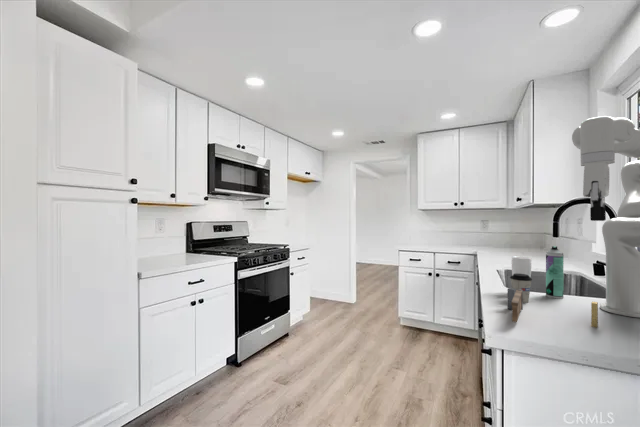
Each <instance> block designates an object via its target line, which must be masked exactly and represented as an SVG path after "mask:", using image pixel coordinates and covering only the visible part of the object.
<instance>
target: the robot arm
mask: <svg viewBox="0 0 640 427" xmlns="http://www.w3.org/2000/svg"><path fill="white" fill-rule="evenodd" d="M571 141H572V143H573V145H574V146H575V147H576V148H577V149H578V150H580V151H579V152H580V166H581V167H584V168H583V180H582V182H583V185H582V197H584V198H589V199H590V210H589V212H590V214H589V216H590V218H589V219H590V221H592V222H593V221H595V222H600V221H601V222H603V224H602V227H601V230H602V231H601V232H602V238H603V241H604V242H603V243H604V247H605V302H603V303H602V302H601V303H600V304H599V308H600V309H601V310H602V311H605V312H608V313H611V314H614V315H618V316H623V317H624V316H625V317H631V318H632V317H633V318H640V251H639V250H638V249H637V248H640V129H638V128H636V125H635V123H634V122H633V121H632V120H630V119H628V118H626V117H612V116H607V115H604V116H603V115H602V116H595V117H591V118H587V119H585V120H583V121H582V122H581V123H580V126H578V127H576V128H575V129H574V130H573V133H572V135H571ZM616 154H620V155H622V156H624V157H627V158H631V159H638V160H634V161H630V162H628V163H626V164H624V165H623V166H622V167H621V170H620V177H621V178H620V179H621V184H622V188H623V190H624V193H625V195H624V197H623V200H622V202H621V204H620V205H619V207H618V210H617V217H613V218H610V219H608V220H606V218H607V216H606V214H607V213H606V211H607V210H606V206H605V205H606V197H608V196H609V195H610V194H609V193H610V164H615V163H616V160H615V159H616V156H615V155H616ZM604 221H605V222H604Z"/></svg>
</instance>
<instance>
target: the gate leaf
mask: <svg viewBox="0 0 640 427" xmlns="http://www.w3.org/2000/svg"><path fill="white" fill-rule="evenodd" d="M523 304H524V303H523V290H521V289H516V292H515V295H514V297H513V300H512V302H511V305H512V310H511V311H512V312H511V321H512V322H514V323H518V322H519V316H520V314H521V311H522V310H524V309H523V308H524V307H523Z"/></svg>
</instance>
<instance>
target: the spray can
mask: <svg viewBox="0 0 640 427" xmlns="http://www.w3.org/2000/svg"><path fill="white" fill-rule="evenodd" d="M545 297H548V298H551V299H557V300H558V299H561V300H562V299H564V253H563V252H562V251H560V249H558V246H556V245H552V246H551V248H550V249H549V250H548V251H546V254H545Z"/></svg>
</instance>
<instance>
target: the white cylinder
mask: <svg viewBox="0 0 640 427" xmlns="http://www.w3.org/2000/svg"><path fill="white" fill-rule="evenodd" d="M511 274H512V275H511V276H513V274H526V275H529V277H530V278H532V277H531V275H532V258H531V257H528V256H521V255H520V256H517V255H515V256H511Z"/></svg>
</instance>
